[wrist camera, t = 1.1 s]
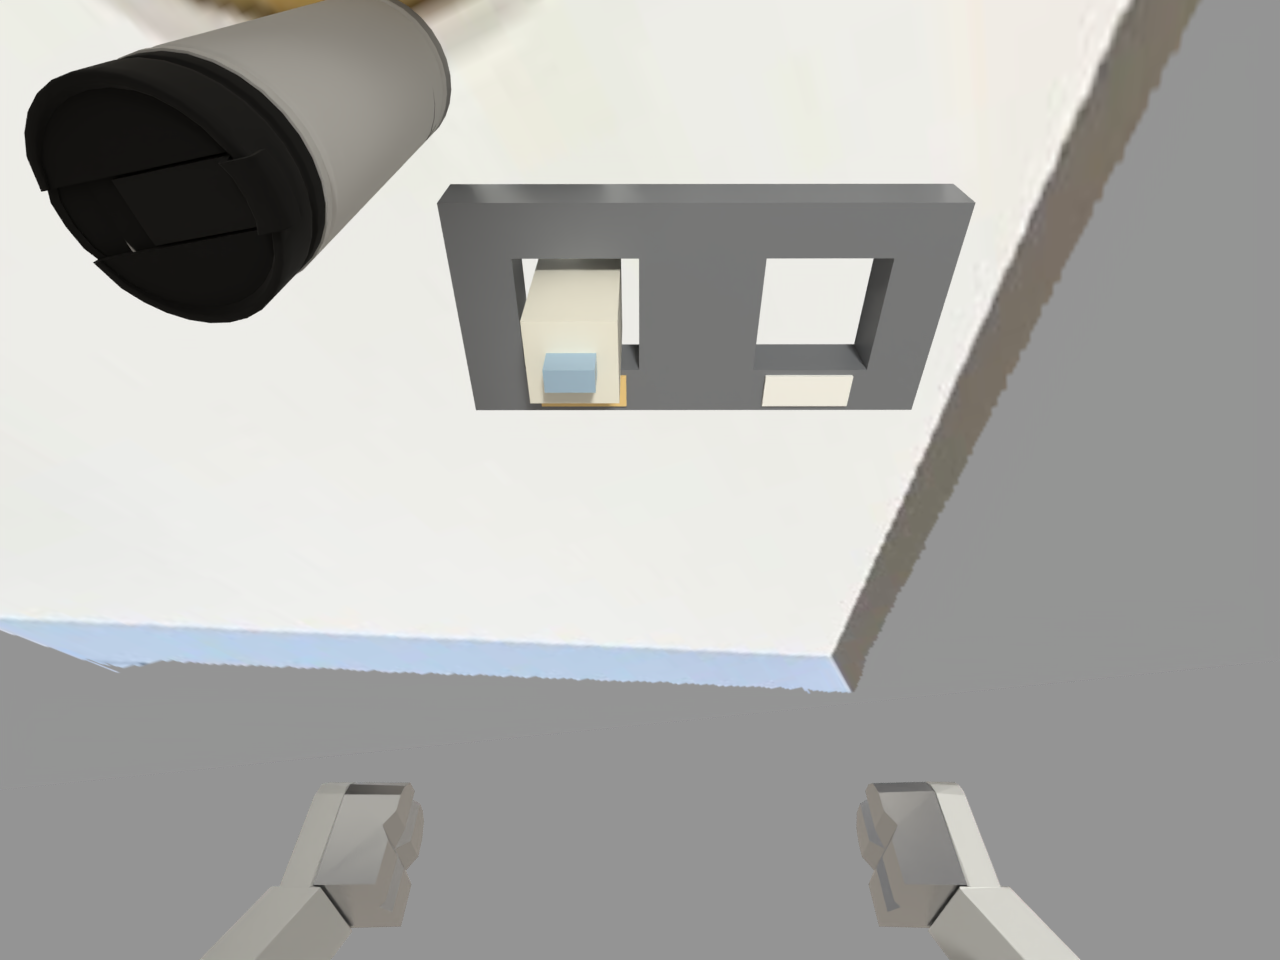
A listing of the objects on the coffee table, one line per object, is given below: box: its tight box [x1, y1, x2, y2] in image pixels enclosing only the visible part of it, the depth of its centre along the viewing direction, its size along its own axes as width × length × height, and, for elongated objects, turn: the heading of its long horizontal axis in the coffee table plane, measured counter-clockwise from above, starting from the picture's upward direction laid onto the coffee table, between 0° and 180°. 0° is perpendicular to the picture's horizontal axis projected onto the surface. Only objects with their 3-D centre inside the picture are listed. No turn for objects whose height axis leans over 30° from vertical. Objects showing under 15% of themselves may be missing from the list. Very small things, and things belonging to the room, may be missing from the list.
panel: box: [437, 184, 975, 410], centre depth 37 cm, size 12×26×3 cm, turn 90°
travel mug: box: [24, 0, 451, 323], centre depth 24 cm, size 6×7×20 cm
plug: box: [520, 259, 622, 403], centre depth 35 cm, size 4×4×10 cm
